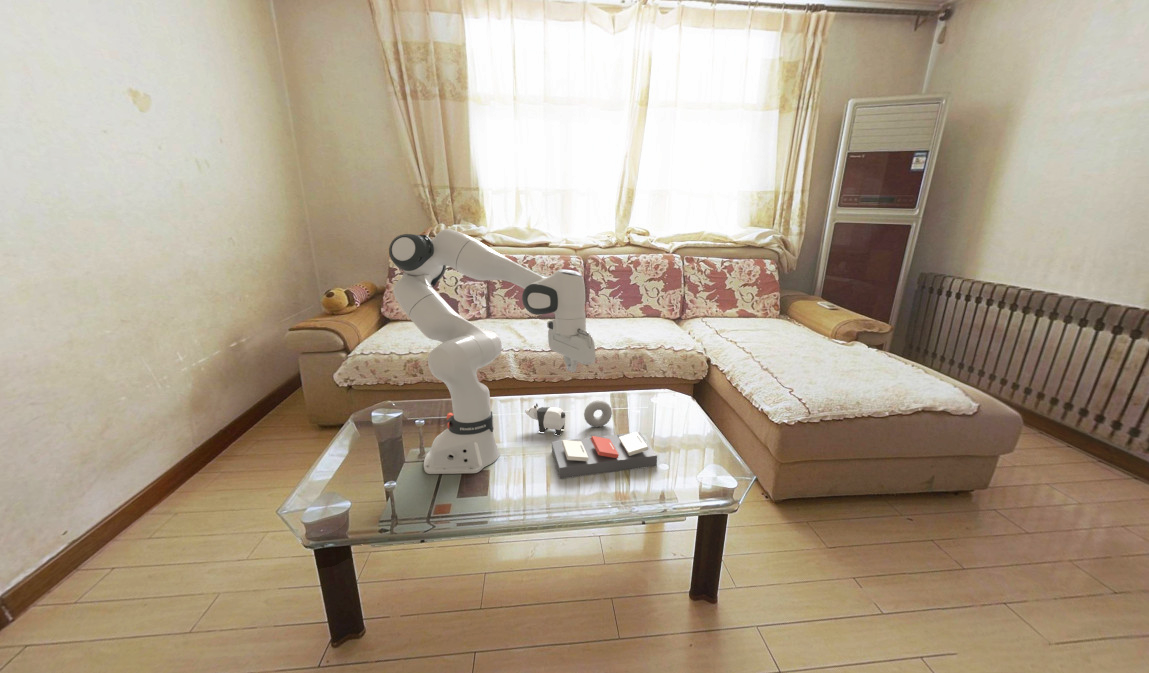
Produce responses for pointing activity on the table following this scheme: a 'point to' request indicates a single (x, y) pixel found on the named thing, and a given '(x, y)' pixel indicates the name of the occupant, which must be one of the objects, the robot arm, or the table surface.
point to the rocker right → (633, 443)
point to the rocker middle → (604, 447)
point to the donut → (603, 418)
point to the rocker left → (574, 450)
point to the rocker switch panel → (601, 459)
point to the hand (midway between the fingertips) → (571, 371)
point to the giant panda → (548, 417)
